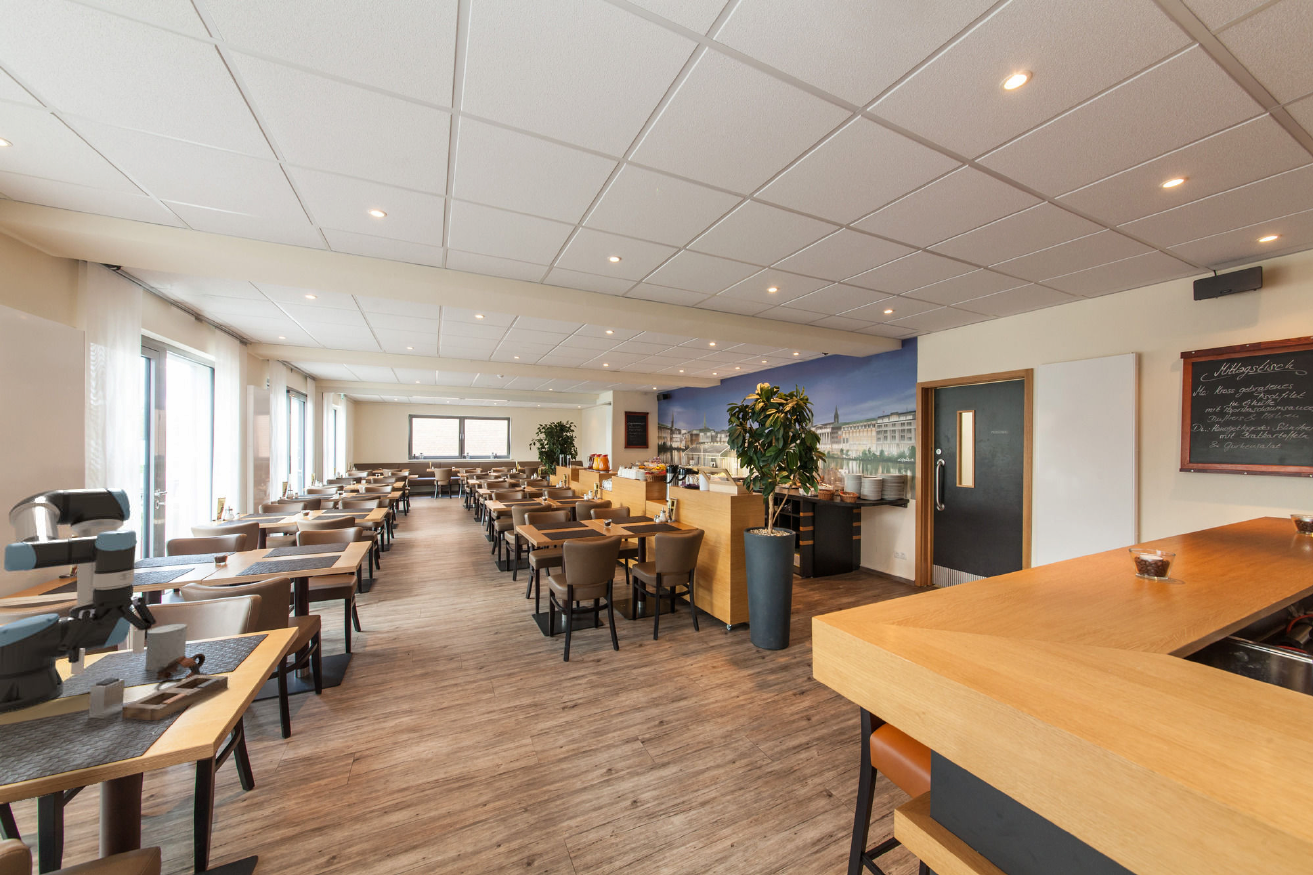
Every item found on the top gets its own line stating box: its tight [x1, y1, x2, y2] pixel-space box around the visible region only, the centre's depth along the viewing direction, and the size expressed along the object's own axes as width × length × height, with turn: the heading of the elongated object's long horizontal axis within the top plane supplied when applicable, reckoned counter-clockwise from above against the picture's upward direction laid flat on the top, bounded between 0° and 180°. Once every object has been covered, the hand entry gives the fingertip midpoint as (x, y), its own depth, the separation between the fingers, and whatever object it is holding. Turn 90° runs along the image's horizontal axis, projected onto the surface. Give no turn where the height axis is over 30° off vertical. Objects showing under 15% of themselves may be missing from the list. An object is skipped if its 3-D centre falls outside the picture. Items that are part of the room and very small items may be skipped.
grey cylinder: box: [144, 622, 188, 671], centre depth 161 cm, size 10×10×12 cm
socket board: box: [121, 674, 229, 721], centre depth 137 cm, size 11×19×3 cm, turn 175°
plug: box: [88, 677, 125, 719], centre depth 131 cm, size 4×4×9 cm
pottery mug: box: [155, 653, 206, 680], centre depth 152 cm, size 12×10×8 cm
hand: (109, 662), depth 131 cm, fingers open, 13 cm apart
